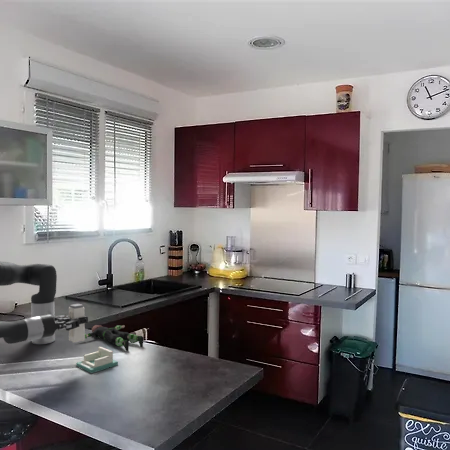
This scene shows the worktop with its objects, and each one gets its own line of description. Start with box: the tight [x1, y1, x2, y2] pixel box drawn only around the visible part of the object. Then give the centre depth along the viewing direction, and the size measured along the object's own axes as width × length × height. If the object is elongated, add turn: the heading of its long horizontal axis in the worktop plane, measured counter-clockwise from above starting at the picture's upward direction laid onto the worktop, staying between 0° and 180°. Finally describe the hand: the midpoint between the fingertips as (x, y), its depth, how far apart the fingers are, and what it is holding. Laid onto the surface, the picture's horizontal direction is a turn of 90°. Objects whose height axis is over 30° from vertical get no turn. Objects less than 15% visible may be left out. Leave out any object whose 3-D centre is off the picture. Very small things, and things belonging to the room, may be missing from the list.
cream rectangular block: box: [68, 303, 86, 344], centre depth 159 cm, size 4×5×13 cm
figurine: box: [85, 324, 145, 352], centre depth 192 cm, size 26×6×30 cm
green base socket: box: [75, 346, 119, 374], centre depth 163 cm, size 10×11×5 cm
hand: (83, 318), depth 162 cm, fingers closed on cream rectangular block, 4 cm apart
